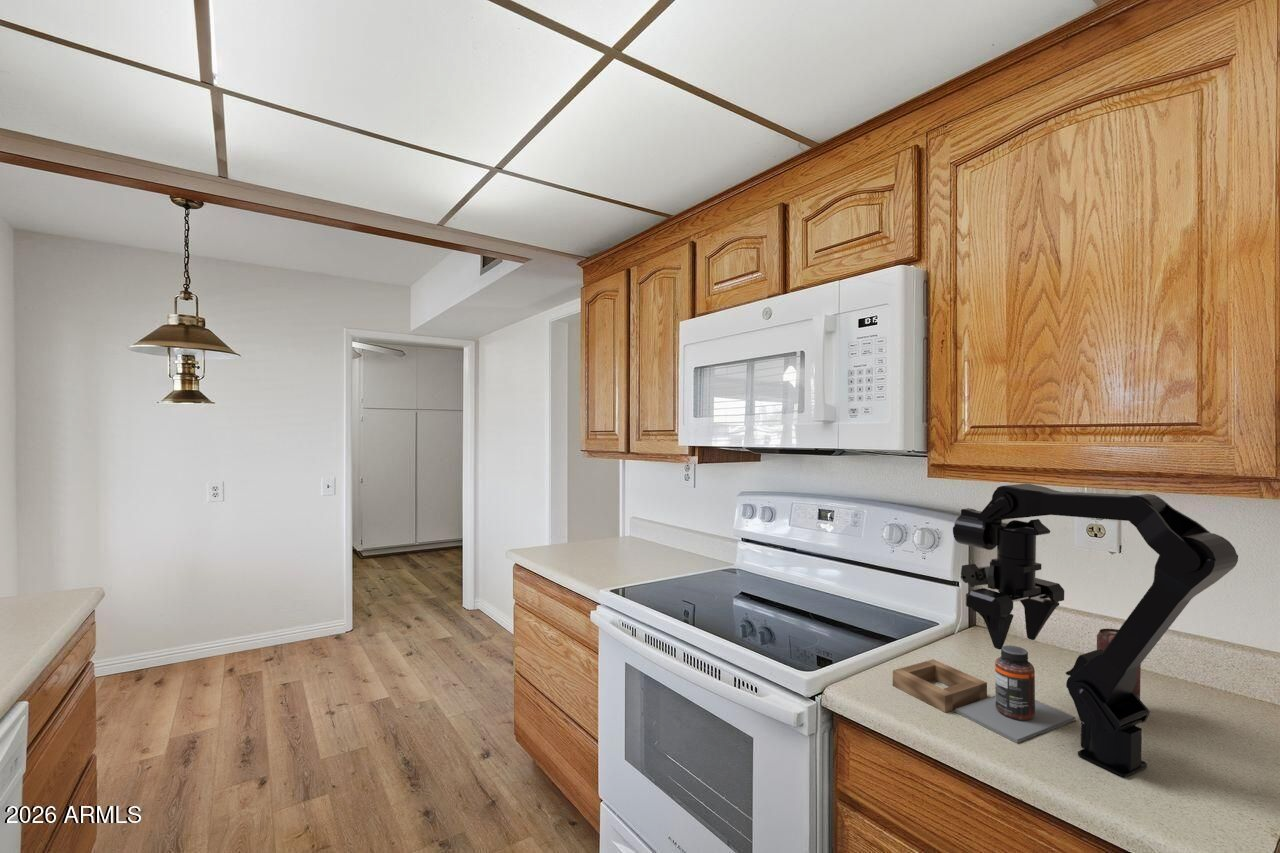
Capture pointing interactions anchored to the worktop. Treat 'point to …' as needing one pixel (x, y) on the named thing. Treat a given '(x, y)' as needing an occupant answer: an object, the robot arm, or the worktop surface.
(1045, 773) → the worktop surface
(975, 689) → the walnut holder
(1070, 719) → the grey rubber mat
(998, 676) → the supplement bottle
